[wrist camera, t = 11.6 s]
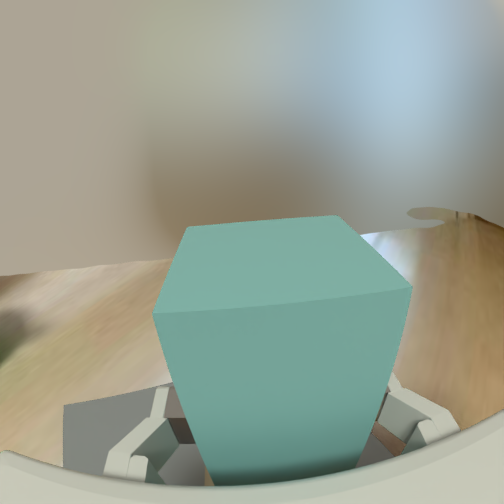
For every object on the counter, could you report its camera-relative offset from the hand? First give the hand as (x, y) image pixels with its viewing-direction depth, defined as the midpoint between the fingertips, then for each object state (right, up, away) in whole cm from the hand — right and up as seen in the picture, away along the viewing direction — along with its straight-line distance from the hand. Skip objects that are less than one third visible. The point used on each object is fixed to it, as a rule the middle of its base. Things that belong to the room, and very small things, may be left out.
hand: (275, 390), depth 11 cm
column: (+1, -9, +3) cm, 10 cm away
